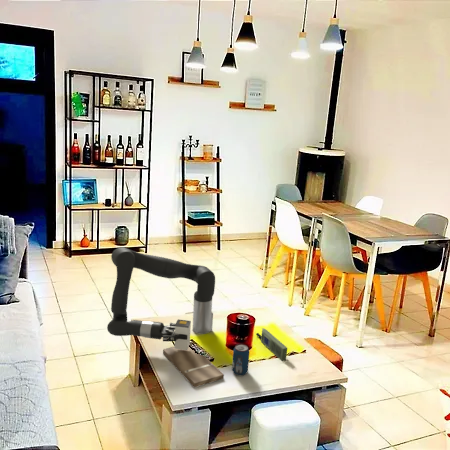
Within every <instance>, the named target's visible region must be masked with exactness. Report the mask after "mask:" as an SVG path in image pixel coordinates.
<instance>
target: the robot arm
mask: <svg viewBox="0 0 450 450" xmlns="http://www.w3.org/2000/svg"><path fill="white" fill-rule="evenodd" d="M110 257H111V262H112V264H113V265H114V266H115V267H116V281H115V286H114V288H113V292H112V296H111V307H110V310H111V313H112V320H110V321H109V322H108V324H107V326H106V327H107V332H108V333H109V334H110V335H112V336H115V337H126V336H133V337H134V336H135V337H142V338H145V339H146V338H147V339H155V340H162V342H175V341H176V340H178V339H184V340H187V335H185V334H178V333H175V324H176V322H175V323H174V322H170V323H169V325H164V322H161V321H160V322H159V321H152V320H139V319H133V320H130V321H128V312H127V309H128V301H129V299H128V297H129V291H130V284H131V278H132V275H133V270H134V269H137V270H140V271H144V272H145V273H148V274H150V275H153V276H157V277H160V278H165V279H179V278H180V279H187V280H190V281H193V282H194V283H196V285H197V287H196V288H197V289H196V291H195V292H194V294H193V311H192V332H194V333H196V334H198V335H199V334H200V335H205V334H208V333H210V332H211V331H213V323H214V312H212V311H213V310H212V309H213V307H212V306H213V297H214V294H215V289H216V288H215V287H216V275H215V273H214V272H213V271H212V270H211V269H209V268H208V267H207V266H204V265H199V264H198V265H197V264H192V263H191V264H190V263H185V262H182V261H179V260H175V259H172V258H167V257H165V256H164V257H162V256H158V255H151V254H145V253H140V252H137V251H135V250H132V249H129V248H127V247H118V248H116V249H114V250H113V251H112V253H111V256H110Z"/></svg>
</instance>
